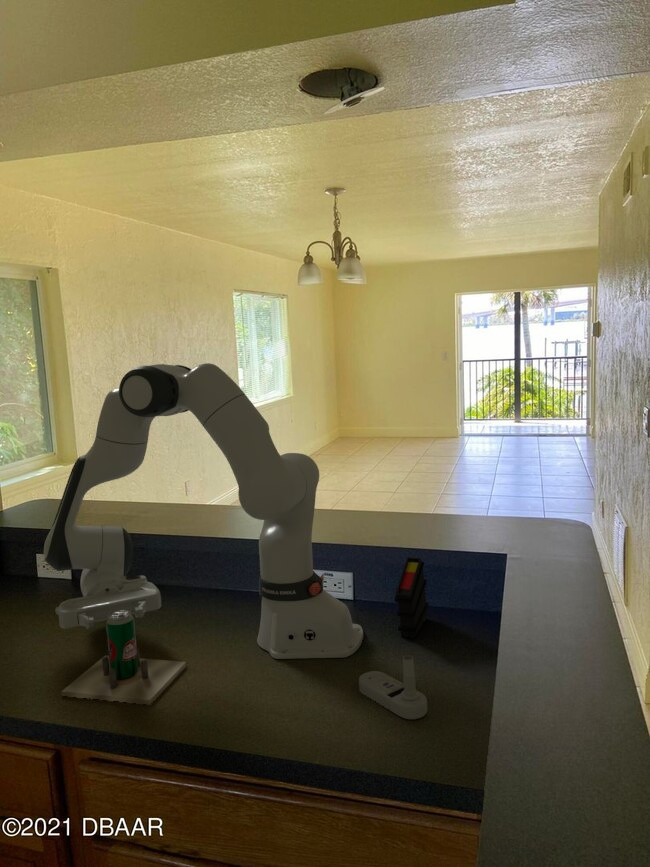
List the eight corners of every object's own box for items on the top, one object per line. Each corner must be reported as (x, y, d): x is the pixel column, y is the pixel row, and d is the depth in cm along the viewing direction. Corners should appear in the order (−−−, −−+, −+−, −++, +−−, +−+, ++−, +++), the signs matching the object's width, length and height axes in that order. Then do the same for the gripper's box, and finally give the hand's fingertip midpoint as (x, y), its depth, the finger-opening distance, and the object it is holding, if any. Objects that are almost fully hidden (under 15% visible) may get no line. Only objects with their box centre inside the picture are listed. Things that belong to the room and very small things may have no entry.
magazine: (431, 605, 148) (423, 557, 140) (419, 653, 137) (409, 603, 130) (415, 604, 149) (406, 556, 141) (402, 650, 139) (391, 601, 131)
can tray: (186, 666, 128) (184, 644, 128) (150, 705, 115) (148, 680, 114) (105, 660, 133) (103, 638, 132) (62, 696, 119) (59, 672, 119)
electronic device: (373, 630, 119) (430, 657, 107) (376, 681, 120) (434, 713, 108) (349, 639, 116) (406, 668, 104) (353, 691, 117) (410, 725, 105)
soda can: (129, 682, 121) (123, 620, 119) (105, 680, 122) (99, 619, 120) (143, 669, 125) (138, 610, 124) (120, 667, 127) (115, 608, 125)
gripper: (53, 592, 136) (57, 615, 124) (152, 573, 145) (165, 593, 132) (56, 621, 137) (60, 647, 124) (154, 600, 146) (167, 623, 133)
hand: (115, 619), depth 128 cm, fingers open, 8 cm apart
